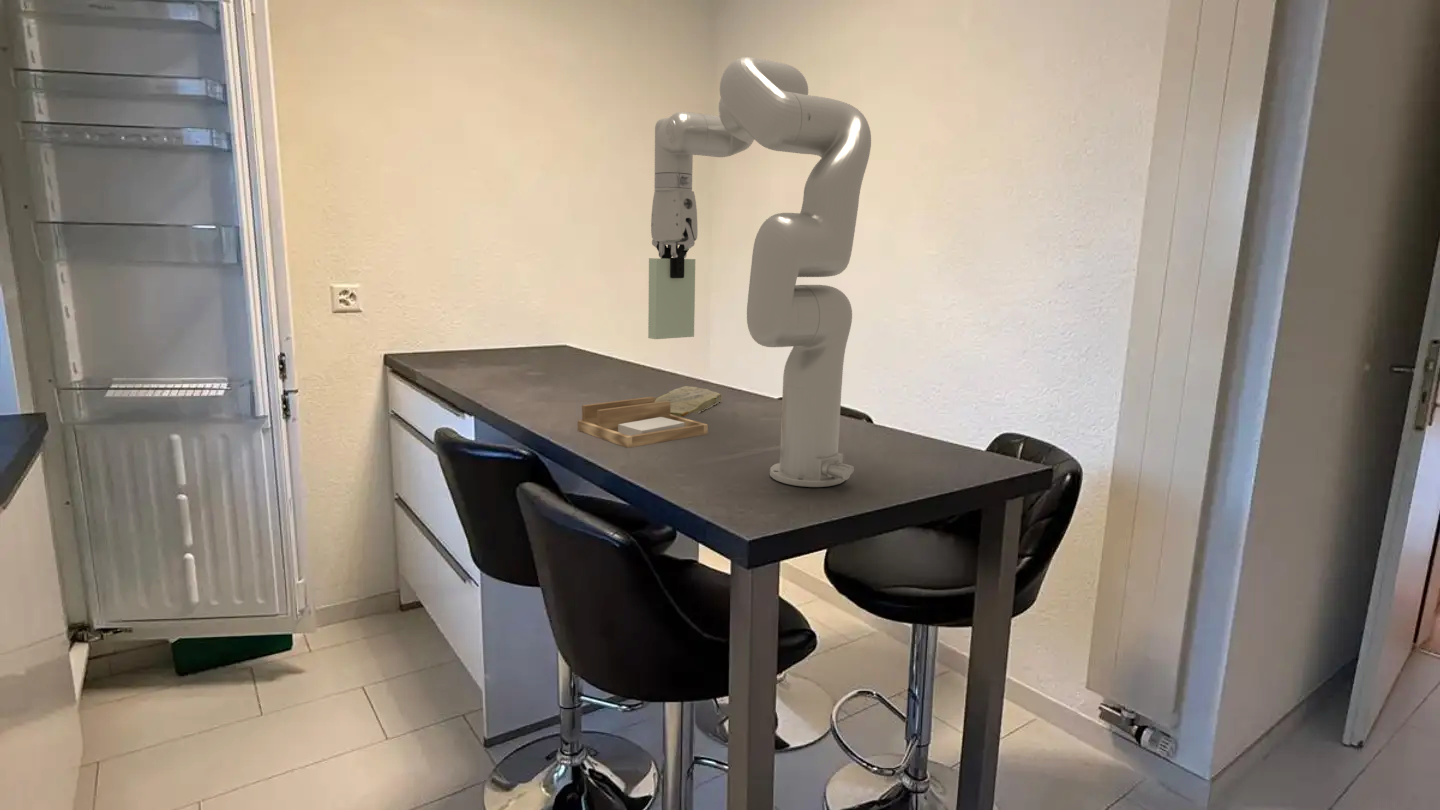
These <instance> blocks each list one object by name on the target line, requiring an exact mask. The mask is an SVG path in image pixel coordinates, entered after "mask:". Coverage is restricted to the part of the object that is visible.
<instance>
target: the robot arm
mask: <svg viewBox="0 0 1440 810" xmlns="http://www.w3.org/2000/svg"><path fill="white" fill-rule="evenodd" d="M808 84H809V83H808V82H807V80H806V77H805V76H804V74H803V73H802V72H801V71H800V70H799V69H797V68H796V67H794V66H792V65H790V64H787V63H783V62H778V61H775V60H773V61H772V60H769V59H768V60H767V59H763V58H759V57H758V58H757V57H754V56H753V57H752V56H743V57H739V58H736V59H734V60H733V61H732V62H730V63H729V64H728V66H726V68H725V70H724V71H723V73H722V76H721V79H720V82H719V95H720V98H719V102H718V115H719V116H718V115H715V114H706V113H699V112H698V113H697V112H690V111H678V112H675V113H674V114H671V116H669V117H664V118H660V119H658V120H657V121H656V123H655V126H654V185H653V187H654V190H653V191H654V192H653V196H652V197H653V198H652V208H651V216H650V217H651V219H650V223H651V224H650V231H651V232H650V233H651V238H652V241H651V244H652V246H653V247H655V249H656V250H657V253H658V256H659V258H661V259H670V277H671V278H684V259H687V253H688V252H689V250H690V249H691V248H693V247H694V246H695V244H696V243H695V242H696V241H697V239H698V212H697V211H698V209H697V201H696V195H695V192H694V191H693V162H694V160H693V157H694V156H701V157H703V156H704V157H712V158H728V157H732V156H734V155H737V154H739V153H742V152H745V150H748V149H749V148H750V147H751V146H752V144H753V143H754V141H755V142H757V143H758V144H759V145H760V146H762V147H764V148H765V149H768V150H771V151H776V152H783V153H784V152H785V153H792V154H794V153H795V154H800V155H801V154H802V155H812V156H818V157H820V160H818V161H817V162H816V164H815V165H814V167H812V169H811V171H810V173H809V175H808V177H807V179H806V180H805V183H804V184H805V185H804V189H803V197H802V203H801V209H800V212H780V213H775V214H773V215H771V216H769V217H768V218H766V219H765V220H764V222H763V223H762V224H761V226H760V227H759V229H758V231H757V233H756V236H755V239H754V243H753V248H752V254H751V255H752V257H751V265H750V274H749V284H748V294H747V303H746V304H747V305H746V323H747V324H746V325H747V329H748V331H749V332H748V333H749V335H750V336H751V338H752V340H753V341H754V342H756V343H757V344H759V345H761V346H762V347H766V348H785V347H786V348H788V347H792V349H791V350H790V353H789V355H788V357H787V358H786V362H785V365H784V370H783V374H782V375H783V376H782V398H781V403H782V404H781V419H780V421H781V425H780V426H781V427H780V449H779V462H777V463H774V464H773V465H772V466H770V468H769V476H770V478H771V479H773V480H775V481H777V482H779V483H781V484H786V485H790V486H796V487H805V488H806V487H808V488H824V487H833V486H838V485H841V484H842V483H844V482H845V481H848V480H849V479H850V477H851V475H852V474H853V473H854V472H855V471H854V470H855V468H854V466H853V465H851V464H847V463H844V462H843V459H844V454H843V453H840V452H839V444H840V443H839V440H840V439H839V438H840V422H841V403H842V389H843V388H842V387H843V386H842V385H843V374H844V373H843V372H844V362H845V361H844V360H845V353H846V347H847V342H848V339H849V336H850V332H851V327H852V322H853V309H852V304H851V302H850V300H849V298H848V297H847V295H846V294H845V293H844V292H843V291H842V290H840V289H838V288H836V287H835V286H830V285H826V284H796V283H797V279H798V278H826V277H828V278H830V277H833V276H834V277H835V276H837V275H840V274H841V273H843V272H844V271H845V270H846V269H847V268H848V265H849V264H850V259H851V257H852V251H853V247H854V246H853V245H854V239H855V238H854V237H855V232H856V225H857V218H858V217H857V216H858V210H859V202H860V195H861V190H862V189H861V188H862V185H863V180H864V176H865V173H866V169H867V166H868V162H869V159H870V155H871V148H872V134H871V133H872V132H871V129H870V128H871V127H870V126H869V122H868V120H867V118H866V116H865V115H864V114H863V113H862V111H861V110H859V108H856V107H855V106H853V105H851V104H850V103H847V102H845V101H841V100H838V99H834V98H829V97H825V96H824V97H823V96H818V95H817V96H816V95H809V85H808Z"/></svg>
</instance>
